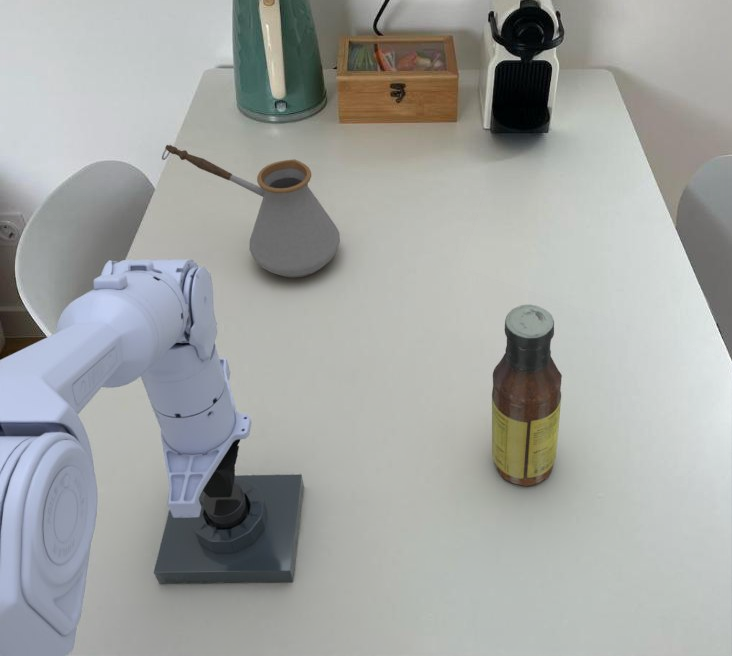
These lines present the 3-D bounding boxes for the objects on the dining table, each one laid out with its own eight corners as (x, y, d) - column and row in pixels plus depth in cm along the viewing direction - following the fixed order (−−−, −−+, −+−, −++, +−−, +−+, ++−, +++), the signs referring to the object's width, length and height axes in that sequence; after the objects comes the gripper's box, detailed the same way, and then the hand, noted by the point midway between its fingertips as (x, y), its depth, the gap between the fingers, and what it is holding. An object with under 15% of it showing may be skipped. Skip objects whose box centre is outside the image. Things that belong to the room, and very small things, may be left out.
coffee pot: (353, 237, 107) (344, 139, 97) (324, 294, 99) (310, 194, 89) (207, 215, 112) (183, 120, 102) (168, 268, 104) (137, 170, 94)
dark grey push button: (250, 493, 74) (246, 481, 73) (244, 528, 72) (240, 516, 70) (211, 494, 74) (207, 481, 73) (204, 529, 72) (199, 516, 70)
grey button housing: (304, 486, 79) (299, 461, 76) (293, 582, 72) (287, 559, 69) (182, 488, 79) (172, 463, 77) (158, 584, 72) (147, 560, 69)
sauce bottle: (553, 439, 82) (574, 295, 69) (555, 491, 78) (578, 348, 64) (488, 435, 83) (496, 292, 69) (487, 487, 78) (495, 345, 65)
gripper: (223, 467, 56) (254, 566, 65) (253, 320, 67) (276, 423, 76) (122, 468, 56) (168, 567, 66) (168, 322, 67) (201, 425, 76)
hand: (221, 490), depth 71 cm, fingers closed
